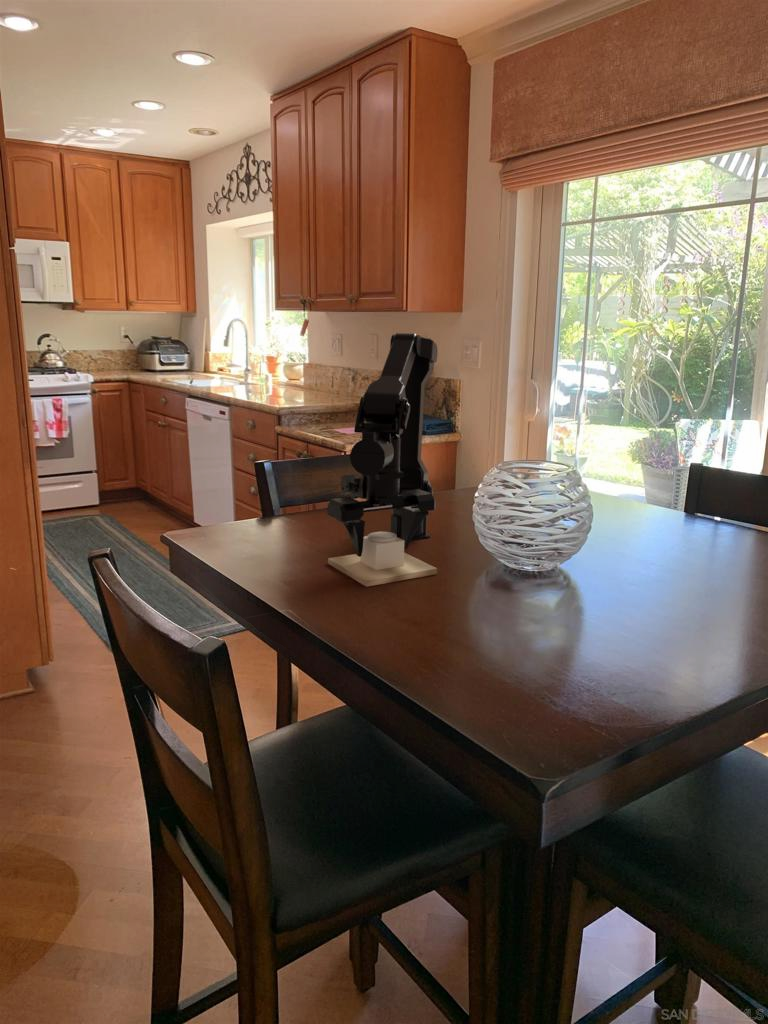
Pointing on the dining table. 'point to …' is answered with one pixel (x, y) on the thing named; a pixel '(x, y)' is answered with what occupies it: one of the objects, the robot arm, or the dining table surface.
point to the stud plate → (381, 570)
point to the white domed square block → (382, 550)
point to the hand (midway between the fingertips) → (381, 552)
